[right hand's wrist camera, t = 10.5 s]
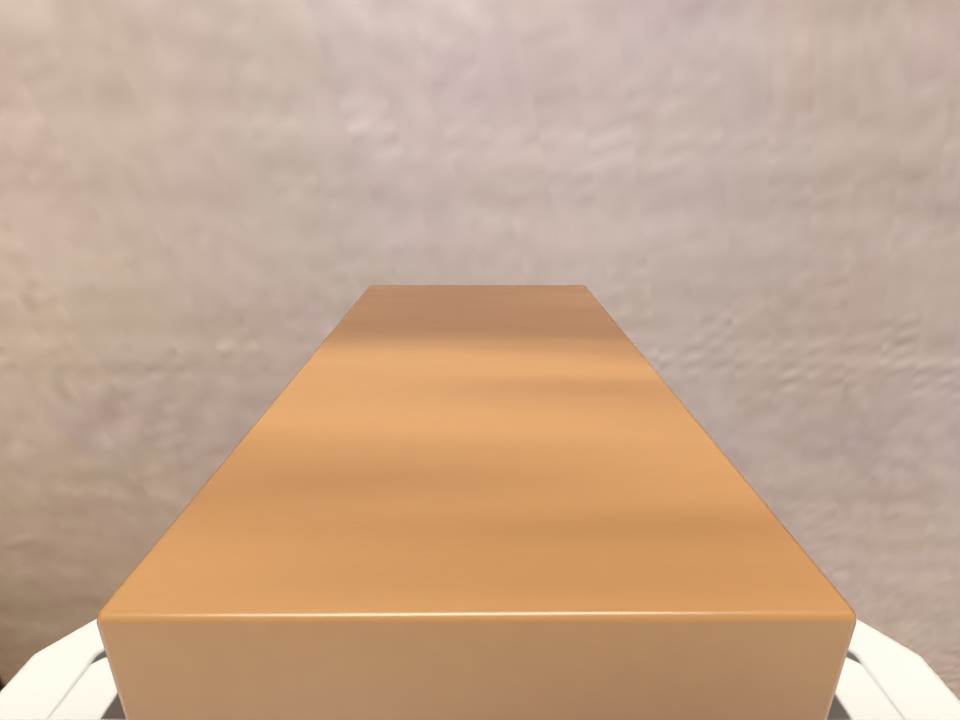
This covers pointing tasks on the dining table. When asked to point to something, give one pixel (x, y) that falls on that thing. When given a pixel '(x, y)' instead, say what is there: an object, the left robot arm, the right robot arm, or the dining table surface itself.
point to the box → (477, 541)
